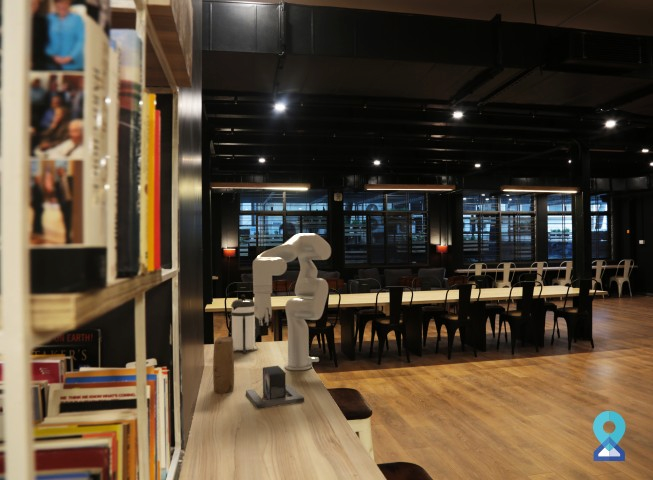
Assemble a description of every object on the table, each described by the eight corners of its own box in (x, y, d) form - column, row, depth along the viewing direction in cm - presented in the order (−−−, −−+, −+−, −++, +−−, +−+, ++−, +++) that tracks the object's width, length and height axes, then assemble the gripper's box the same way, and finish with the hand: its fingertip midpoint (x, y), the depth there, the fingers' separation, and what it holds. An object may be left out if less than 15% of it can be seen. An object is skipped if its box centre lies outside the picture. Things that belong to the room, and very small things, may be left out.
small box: (261, 395, 167) (261, 366, 167) (278, 393, 170) (278, 365, 170) (268, 404, 157) (268, 374, 158) (286, 401, 160) (286, 372, 160)
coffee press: (259, 353, 234) (259, 295, 235) (228, 354, 232) (228, 296, 232) (259, 346, 251) (258, 292, 252) (230, 347, 249) (229, 293, 249)
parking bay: (289, 388, 175) (289, 384, 175) (304, 401, 159) (304, 397, 159) (246, 394, 168) (246, 390, 168) (257, 409, 153) (257, 404, 153)
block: (232, 393, 169) (232, 340, 169) (212, 394, 168) (211, 341, 169) (235, 385, 180) (235, 334, 180) (216, 385, 179) (216, 335, 179)
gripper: (249, 288, 185) (250, 332, 185) (258, 292, 171) (259, 340, 171) (266, 287, 188) (267, 331, 188) (277, 290, 174) (278, 338, 174)
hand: (263, 335), depth 180 cm, fingers closed
